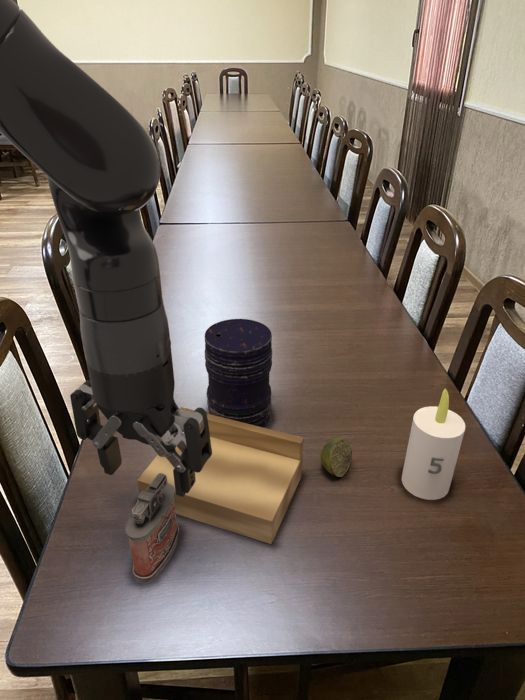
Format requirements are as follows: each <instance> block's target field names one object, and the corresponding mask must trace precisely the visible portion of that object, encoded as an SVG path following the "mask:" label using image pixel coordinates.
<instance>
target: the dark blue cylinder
mask: <svg viewBox="0 0 525 700" xmlns="http://www.w3.org/2000/svg"><path fill="white" fill-rule="evenodd" d="M272 341H273V333H272V330H271V329H270V328H269V327H268V326H267V325H265V324H264V323H263V322H260V321H257V320H253V319H248V318H229V319H225V320H220V321H217V322H215V323H214V324H211V325H210V326H209V327H208V328H207V329H206V330H205V332H204V359H205V361H204V365H205V371H206V373H207V377H208V379H207V381H208V384H207V388H206V398H207V399H206V403H207V405H206V406H207V409H208V414H211V415H215V416H219V417H223V418H227V419H231V420H235V421H239V422H243V423H247V424H251V425H255V426H259V427H263V428H267V426H268V425H269V423H270V420H271V408H272V394H273V393H272V387H271V385H270V372H271V370H272V366H273V360H272V359H273V347H272V346H273V345H272V344H273V343H272Z"/></svg>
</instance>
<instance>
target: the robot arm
mask: <svg viewBox="0 0 525 700" xmlns="http://www.w3.org/2000/svg"><path fill="white" fill-rule="evenodd" d="M20 8H21V7H20V6H19V5H18V3H16V2H15V1H14V0H0V134H1V135H2V136H3V137H4V138H5V139H6V140H7V141H8V142H9V143H10V144H11V145H12V146H14V147H15V148H16V149H17V150H18V151H19V152H20V153H21V154H22V155H23V156H24V157H26V159H28V160H29V161H30V162H31V163H32V164H33V165H34V166H35V167H37V168H38V169H39V170H40V171H41V172H42V173H43V174H44V175H45V176H46V177H45V178H46V181H47V184H48V188H49V191H50V195H51V199H52V202H53V205H54V208H55V211H56V214H57V217H58V220H59V224H60V228H61V230H62V233H63V236H64V239H65V241H66V245H67V249H68V253H69V259H70V260H69V261H70V269H71V275H72V282H73V286H74V291H75V292H74V293H75V296H76V297H75V298H76V302H77V306H78V312H79V320H80V321H79V329H80V337H81V342H82V347H83V352H84V358H85V362H86V367H87V373H88V377H89V380H88V379H87V380H86V381H84V382H83V383H82V384H81V385H80V386H78V387H77V388H76V389H75V390H74V391H73V392H71V393H70V395H69V397H70V403H71V408H72V416H73V422H74V427H75V432H76V433H75V434H76V436H77V437H78V438H79V439H80V440H81V441H82V440H83V441H85V440H87V439H88V440H90V441H91V443H92V446H93V447H94V448H95V449H97V455H98V460H99V464H100V466H101V467H102V468H103V472H104V474H106V475H110V476H113V475H114V474H115V473H116V471H118V469H119V468H120V467H121V465H122V462H123V460H122V454H121V448H120V444H119V443H120V442H119V439H118V437H117V436H115V435H116V433H118V434H120V435H121V437H122V438H123V439H126V440H133V441H134V440H135V441H137V442H140V443H142V444H144V445H148V446H150V447H151V448H152V449H153V451H154V452H155V453H156V454H157V455H159V456H160V457H166V458H167V460H168V461H169V462H170V463H171V464H172V466H173V467H174V470H173V475H174V483H175V492H176V495H178V496H181V497H184V495H185V494H186V493H188V492H189V491H190V489H191V488H192V486H193V485H194V483H195V481H196V479H195V472H200V471H201V470H202V469H203V466H204V465H205V463H206V462H207V460H208V459H209V458H210V457H211V455H212V448H211V440H210V433H209V426H208V418H207V414H208V412H207V411H206V410H205V408H203V407H197V408H195V409H194V410H195V411H194V412H188V411H183V410H179V409H180V408H179V406H178V404H177V403H176V400H175V398H174V395H175V387H176V386H175V382H176V381H175V374H174V373H175V371H174V363H173V355H172V354H173V353H172V340H171V336H170V334H171V333H170V326H169V319H168V315H167V311H166V307H165V304H164V298H163V288H162V277H161V268H160V261H159V255H158V252H157V248H156V246H155V244H154V241H153V239H152V237H151V236H150V235H149V233H148V232H147V229H146V228H145V226H144V223H143V220H142V215H141V210H140V209H142V208H143V207H144V206H145V205H147V204H148V203H149V202H150V200H151V199H152V198H153V197H154V195H155V193H156V191H157V189H158V186H159V182H160V178H161V163H160V161H161V160H160V157H159V153H158V150H157V147H156V144H155V142H154V140H153V139H152V137H151V135H150V134H149V132H148V131H147V130H146V128H145V127H144V126H143V125H142V124H141V122H140V121H139V120H138V119H137V118H136V117H135V116H134V115H133V114H132V113H131V112H130V111H129V110H128V109H127V108H126V107H125V106H124V105H123V104H122V103H120V102H119V101H118V100H117V99H116V97H114V96H113V95H112V94H111V93H110V92H108V90H106V89H105V88H103V86H102V85H101V84H99V83H98V81H96V80H95V79H94V78H92V77H91V76H90V75H89V74H88V73H87V72H85V71H84V69H83V68H81V67H80V66H78V65H77V63H75V62H74V61H72V59H70V58H69V57H68V56H67V55H65V54H64V53H63V52H62V51H61V50H60V49H59V48H57V46H56V45H54V43H52V41H51V40H50V39H49V37H47V36H46V35H45V34H44V33H43V31H42V30H41V29H40V28H39V27H38V26H37V24H36V23H35V22H34V21H33V20H32V19H31V17H30V16H29V15H28V14H27V13H26V12H25V11H24V9H20ZM100 412H101V414H102V415H103V416H104V417H105V419H106V420H107V421H106V422H105V424H103V425H102V424H101V416H100ZM168 432H169V437H168V438H167V440H166V441H164V440H163V437H164V436H165V434H166V433H168ZM176 446H177V447H178V448H179V450H180V451H181V452H182V454H181V455H179V454H178V453H177V452H176Z"/></svg>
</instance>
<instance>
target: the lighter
mask: <svg viewBox="0 0 525 700" xmlns="http://www.w3.org/2000/svg"><path fill="white" fill-rule="evenodd" d="M174 498H175V488H174V486H172V485H171V484H169V483H167V475H165V474H163V473H159V474H157V476H156V477H155V478H154V480H153V481H152V483H151V484H150V485H149V487H148V488H147V490H146V491H143V490H142V491H141V492H140V494H139V493H138V496H137V500H136V503H135V505H134V506H133V507H132V509H131V515H130V516H129V518H128V521H127V523H126V525H125V527H124V528H125V530H124V531H125V536H126V538H127V539H128V542H129V548H130V552H131V553H130V554H131V558H132V559H131V560H132V564H133V566H132V575H133V578H134V579H135V581H137V582H138V583H142V584H148V583H150V582H152V581H154V580H155V579H156V578H157V576H158V575H159V574H160V573H161V572H162V571H163V569H164V568H165V566H167V563H169V561H170V559H171V558H172V555H173V553H174V551H175V549H176V547H177V544H178V541H179V538H180V527H179V525H178V522H177V521H178V520H177V514H176V511H175V502H174Z"/></svg>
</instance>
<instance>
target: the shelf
mask: <svg viewBox="0 0 525 700" xmlns="http://www.w3.org/2000/svg"><path fill="white" fill-rule="evenodd" d="M179 410H183V411H188V412H194V411H195V410H196V409H191V408H188V407H187V408H186V407H183V406H180V408H179ZM207 418H208V426H209V433H210V440H211V448H212V455H211V457H210V458H209V459H208V460H207V462H206V463H205V465H204V466H203V469H202V470H201V471H200V472H195V479H196V481H195V483H194V485H193V486H192V488H191V489H190V491H189V492H188V493H186V494H185V495H184V497H181V496H178V495H176V492H175V498H174V502H175V511H176V515H178V516H180V517H184V518H187V519H191V520H193V521H197V522H199V523H204V524H206V525H210V526H213V527H216V528H219V529H222V530H225V531H227V532H232V533H234V534H238V535H240V536H244V537H248V538H250V539H253V540H257V541H259V542H263V543H266V544H269V545H272V544H273V543H274V540H275V537H276V536H277V534H278V531H279V529H280V526H281V524H282V521H283V519H284V517H285V515H286V513H287V511H288V508H289V506H290V504H291V502H292V499H293V497H294V495H295V493H296V491H297V488H298V485H299V483H300V481H301V479H302V472H303V471H302V470H303V458H304V457H303V456H304V439H305V438H304V437H303V436H298V435H294V434H290V433H287V432H282V431H278V430H274V429H271V428H267V427H265V428H263V427H259V426H255V425H251V424H247V423H243V422H239V421H235V420H231V419H227V418H223V417H219V416H215V415H211V414H209V413H207ZM176 452H177V453H178V454H179V455H181V454H182V452H181V451H180V450H179V448H178V447H177V446H176ZM173 470H174V467H173V466H172V464H171V463H170V462H169V461H168V460H167V458H166V457H160V456H159V455H158V454H157V455H156V456H155V458H154V459H152V461H151V462H150V463H149V465H148V466H147V467H146V468H145V470H144V471H143V472H142V473H141V475H140V476H139V477H138V479H137V487H138V495H139V494H140V492H141V491H142V490H143V491H146V490H147V488H148V487H149V485H150V484H151V483H152V481H153V480H154V478H155V477H156V476H157V474H159V473H163V474H165V475H167V483H169V484H171V485H172V486H174V488H175V483H174V475H173Z"/></svg>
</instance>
